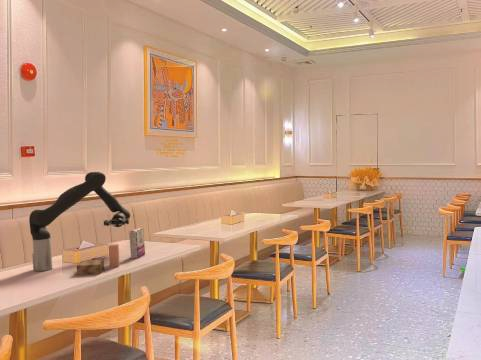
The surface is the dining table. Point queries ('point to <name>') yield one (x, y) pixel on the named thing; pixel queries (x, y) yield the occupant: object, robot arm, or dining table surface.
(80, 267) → the walnut block
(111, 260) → the terracotta block
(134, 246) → the candy bar box
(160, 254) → the dining table surface
